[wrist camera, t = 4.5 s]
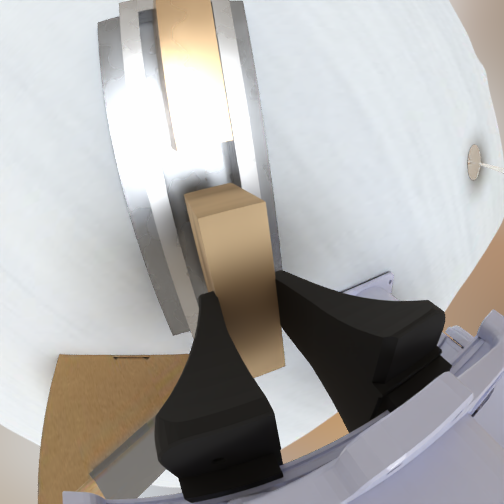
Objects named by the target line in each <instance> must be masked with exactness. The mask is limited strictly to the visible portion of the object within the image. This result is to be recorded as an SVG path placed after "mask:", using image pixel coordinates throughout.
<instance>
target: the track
mask: <svg viewBox="0 0 504 504" xmlns="http://www.w3.org/2000/svg"><path fill="white" fill-rule="evenodd" d="M119 14H120V16H119V17H115V18H111V19H108V20H105V21H101V22H98V41H99V55H100V66H101V75H102V84H103V91H104V99H105V105H106V112H107V118H108V123H109V129H110V134H111V139H112V144H113V149H114V154H115V159H116V163H117V167H118V172H119V176H120V180H121V184H122V188H123V192H124V196H125V199H126V203H127V207H128V210H129V214H130V217H131V221H132V224H133V227H134V231H135V234H136V237H137V240H138V244H139V247H140V250H141V253H142V256H143V259H144V262H145V265H146V267H147V270H148V273H149V276H150V279H151V281H152V284H153V287H154V290H155V292H156V295H157V297H158V300H159V303H160V305H161V308H162V310H163V313H164V315H165V318H166V320H167V322H168V325H169V327H170V330H171V332H172V334H173V336H174V335H177V334H181V333H184V332H188V331H191V333H192V336H193V339H194V337H195V332H196V328H197V321H198V314H199V300H198V297H199V296H200V295H201V294H205V293H208V290H207V286H206V282H205V279H204V275H203V271H202V267H201V263H200V260H199V256H198V252H197V248H196V244H195V240H194V236H193V232H192V228H191V223H190V219H189V215H188V211H187V206H186V202H185V197H184V194H186V193H190V192H194V191H198V190H202V189H206V188H210V187H214V186H219V185H223V184H227V183H233V184H235V185H237V186H238V187H240V188H242V189H244V190H246V191H248V192H249V193H251V194H253V195H255V196H257V197H258V198H260V199H262V200H264V201H265V202H266V208H267V216H268V223H269V231H270V238H271V246H272V254H273V262H274V270H275V272H276V271H279V270H282V263H281V253H280V245H279V236H278V227H277V219H276V211H275V202H274V194H273V187H272V179H271V171H270V164H269V157H268V150H267V142H266V136H265V129H264V122H263V115H262V109H261V102H260V96H259V89H258V83H257V77H256V71H255V65H254V59H253V53H252V48H251V42H250V36H249V31H248V26H247V20H246V15H245V10H244V4H243V1H229V0H130V1H126V2H122V3H119Z"/></svg>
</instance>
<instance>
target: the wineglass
mask: <svg viewBox="0 0 504 504" xmlns="http://www.w3.org/2000/svg"><path fill="white" fill-rule="evenodd" d="M480 166H484V167H487V168H490V169H492V170H495V171H498V172H501V173H503V174H504V168H501V167H497V166H493V165H489V164H484V163H481V155H480V151H479V148H478V146H477V145H473V146H472V147H471V149H470V151H469V155H468V173H469V176H470V178H471V180H475V179H476V178H477V177H478V174H479V171H480Z"/></svg>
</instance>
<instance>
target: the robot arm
mask: <svg viewBox="0 0 504 504" xmlns="http://www.w3.org/2000/svg"><path fill="white" fill-rule="evenodd" d="M393 278H394V274H393V273H391V272H388V273H386V274H384V275H382V276H380V277H377V278H375V279H373V280H371V281H368V282H366V283H364V284H362V285H359V286H357V287H355V288H352V289H350V290H348V291H345V292H343V293H341V292H338V291H335V290H331V289H328V288H325V287H323V286H320V285H317V284H314V283H312V282H309V281H307V280H304V279H302V278H300V277H297V276H295V275H292V274H290V273H288V272H285V271H282V270H279V271H276V272H275V283H276V291H277V299H278V308H279V316H280V325H281V327H282V328H283V330H284V331H285V332H286V334H287V335H288V336H289V338H290V339H291V340H292V341H293V343H294V344H295V345H296V347H297V348H298V349H299V350H300V352H301V353H302V354H303V356H304V357H305V358H306V359H307V361H308V362H309V363H310V365H311V366H312V368H313V369H314V371H315V372H316V374H317V376H318V377H319V379H320V381H321V382H322V384H323V386H324V387H325V389H326V391H327V392H328V394H329V396H330V398H331V399H332V401H333V403H334V405H335V407H336V409H337V410H338V412H339V414H340V416H341V418H342V419H343V422H344V424H345V426H346V428H347V430H348V431H349V434H347V435H345V436H343V437H341V438H340V439H338V440H336V441H334V442H332V443H330V444H328V445H326V446H324V447H322V448H320V449H318V450H315V451H314V452H311V453H309V454H307V455H305V456H302V457H300V458H298V459H295V460H293V461H291V462H288V463H286V464H283V462H282V457H281V452H280V450H281V446H280V441H279V436H278V430H277V425H276V420H275V414H274V412H273V409H272V407H271V406H270V404H269V402H268V400H267V398H266V396H265V395H264V393H263V392H262V390H261V389H260V387H259V386H258V384H257V383H256V381H255V380H254V378H253V377H252V375H251V374H250V372H249V370H248V368H247V367H246V365H245V363H244V362H243V360H242V358H241V356H240V354H239V352H238V351H237V349H236V347H235V345H234V343H233V341H232V339H231V337H230V335H229V333H228V330H227V328H226V324H225V321H224V317H223V314H222V310H221V307H220V303H219V299H218V297H217V296H216V294H215V293H214V291H211V292H208V293H205V294H201V295H200V296H199V297H198V300H199V314H198V321H197V328H196V332H195V337H194V341H193V345H192V348H191V351H190V354H189V357H188V360H187V362H186V365H185V367H184V369H183V372H182V374H181V376H180V378H179V380H178V382H177V384H176V385H175V387H174V389H173V391H172V393H171V394H170V396H169V398H168V399H167V400H166V402H165V403H164V405H163V406H162V408H161V409H160V410H159V412H158V413H157V415H156V417H155V429H154V438H155V447H156V452H157V457H158V461H159V463H160V464H161V465H162V466H163V467H165V468H166V469H167V470H168V471H170V472H171V473H172V474H174V475H175V476H176V477H178V478H179V482H180V486H181V489H182V493H178V494H173V495H165V496H157V497H148V498H135V499H113V500H105V499H104V498H102V497H101V496H99V495H96V494H93V493H89V492H72V491H63V492H62V497H63V504H504V316H503V315H501V314H499V313H498V312H497V311H495V310H492V311H491V312H490V313H489V314H488V315H487V317H486V318H485V319H484V320H483V321H482V323H481V325H480V327H479V329H478V332H477V335H476V336H475V337H473V336H472V335H470V334H469V333H468V332H466V331H465V330H464V329H462V328H461V327H458V326H453V327H448V328H447V330H446V333H447V334H448V335H450V336H451V337H452V338H453V340H455V341H456V342H457V343H458V344H460V345H461V346H462V347H460V346H459V345H458V344H457V343H455V342H454V341H453V340H452V339H450V338H449V337H448V336H447V335H445V334H444V333H443V332H442V330H443V327H444V324H445V314H444V311H443V310H441V309H440V308H439V307H437V306H436V305H434V304H433V303H432V302H430V301H429V300H421V301H399V300H398V299H397V298H395V297H394V296H393V295H391V292H392V285H393Z"/></svg>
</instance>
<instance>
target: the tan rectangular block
mask: <svg viewBox="0 0 504 504" xmlns="http://www.w3.org/2000/svg"><path fill="white" fill-rule="evenodd" d="M184 197H185V202H186V206H187V211H188V215H189V219H190V223H191V228H192V232H193V236H194V240H195V244H196V248H197V252H198V256H199V260H200V263H201V267H202V271H203V275H204V279H205V282H206V286H207V290H208V292H211V291H214V293H215V294H216V296H217V297H218V299H219V303H220V307H221V310H222V314H223V317H224V321H225V324H226V328H227V330H228V333H229V335H230V337H231V339H232V341H233V343H234V345H235V347H236V349H237V351H238V352H239V354H240V356H241V358H242V360H243V362H244V363H245V365H246V367H247V368H248V370H249V372H250V374H251V375H252V377H253V378H255V377H258V376H261V375H263V374H266V373H269V372H271V371H274V370H276V369H279V368H282V367H284V366H285V357H284V348H283V339H282V330H281V325H280V316H279V308H278V299H277V291H276V283H275V270H274V262H273V254H272V246H271V238H270V231H269V223H268V216H267V208H266V202H265V201H264V200H262V199H260V198H258V197H257V196H255V195H253V194H251V193H249V192H248V191H246V190H244V189H242V188H240V187H238V186H237V185H235V184H233V183H227V184H223V185H219V186H214V187H210V188H206V189H202V190H198V191H194V192H190V193H186V194H184Z"/></svg>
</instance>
